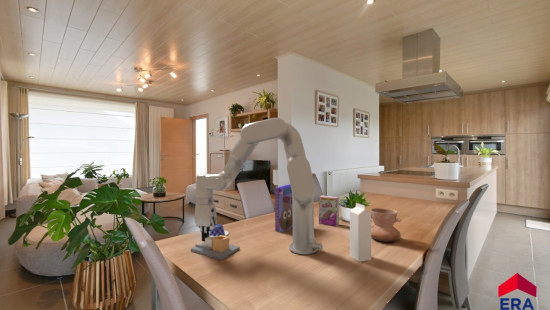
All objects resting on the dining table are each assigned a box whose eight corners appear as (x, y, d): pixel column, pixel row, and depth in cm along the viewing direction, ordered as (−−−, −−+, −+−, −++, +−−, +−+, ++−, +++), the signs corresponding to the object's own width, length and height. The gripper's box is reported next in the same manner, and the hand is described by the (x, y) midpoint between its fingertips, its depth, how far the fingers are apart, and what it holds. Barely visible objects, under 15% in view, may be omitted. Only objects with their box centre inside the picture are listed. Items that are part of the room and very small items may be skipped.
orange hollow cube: (229, 248, 110) (229, 236, 110) (221, 252, 106) (221, 240, 106) (220, 246, 113) (220, 235, 113) (212, 249, 108) (212, 238, 108)
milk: (358, 262, 98) (358, 206, 97) (349, 255, 104) (349, 203, 103) (371, 259, 100) (371, 205, 99) (362, 253, 105) (361, 202, 105)
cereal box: (282, 232, 134) (282, 188, 133) (275, 231, 136) (274, 187, 136) (297, 224, 149) (296, 184, 148) (290, 223, 151) (289, 183, 151)
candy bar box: (318, 223, 149) (318, 196, 149) (321, 221, 153) (321, 195, 153) (336, 226, 143) (336, 198, 143) (339, 224, 147) (339, 196, 147)
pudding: (223, 239, 125) (222, 229, 125) (201, 238, 127) (201, 228, 127) (232, 232, 137) (231, 222, 136) (211, 230, 139) (211, 221, 139)
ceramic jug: (408, 240, 121) (407, 210, 121) (394, 247, 111) (394, 215, 112) (373, 231, 135) (372, 205, 135) (358, 237, 125) (358, 209, 125)
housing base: (239, 249, 112) (239, 237, 112) (221, 259, 101) (221, 247, 101) (210, 242, 121) (210, 231, 121) (190, 251, 110) (190, 239, 110)
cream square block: (218, 245, 113) (218, 235, 113) (211, 248, 109) (211, 238, 109) (211, 244, 115) (211, 234, 115) (205, 247, 111) (205, 236, 111)
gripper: (222, 200, 113) (223, 240, 114) (199, 198, 121) (200, 235, 121) (210, 204, 107) (211, 246, 107) (187, 200, 114) (187, 240, 115)
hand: (205, 240), depth 114 cm, fingers closed
